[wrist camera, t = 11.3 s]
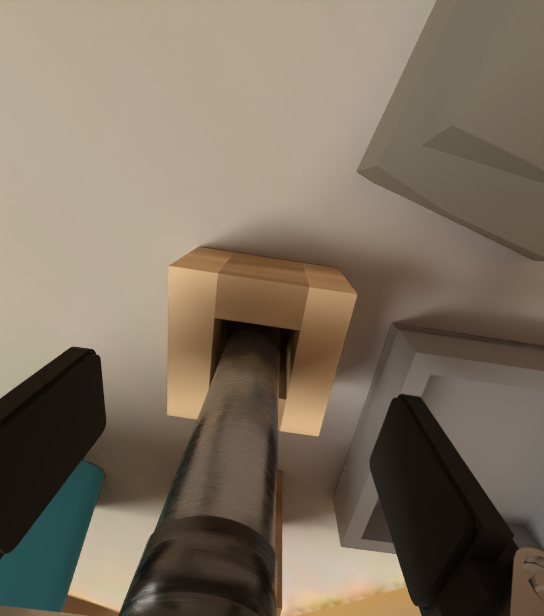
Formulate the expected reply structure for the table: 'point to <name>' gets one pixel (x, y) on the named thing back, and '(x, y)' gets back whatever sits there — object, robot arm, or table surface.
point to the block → (52, 546)
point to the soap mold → (471, 122)
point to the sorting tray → (456, 427)
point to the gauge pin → (221, 496)
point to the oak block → (258, 310)
